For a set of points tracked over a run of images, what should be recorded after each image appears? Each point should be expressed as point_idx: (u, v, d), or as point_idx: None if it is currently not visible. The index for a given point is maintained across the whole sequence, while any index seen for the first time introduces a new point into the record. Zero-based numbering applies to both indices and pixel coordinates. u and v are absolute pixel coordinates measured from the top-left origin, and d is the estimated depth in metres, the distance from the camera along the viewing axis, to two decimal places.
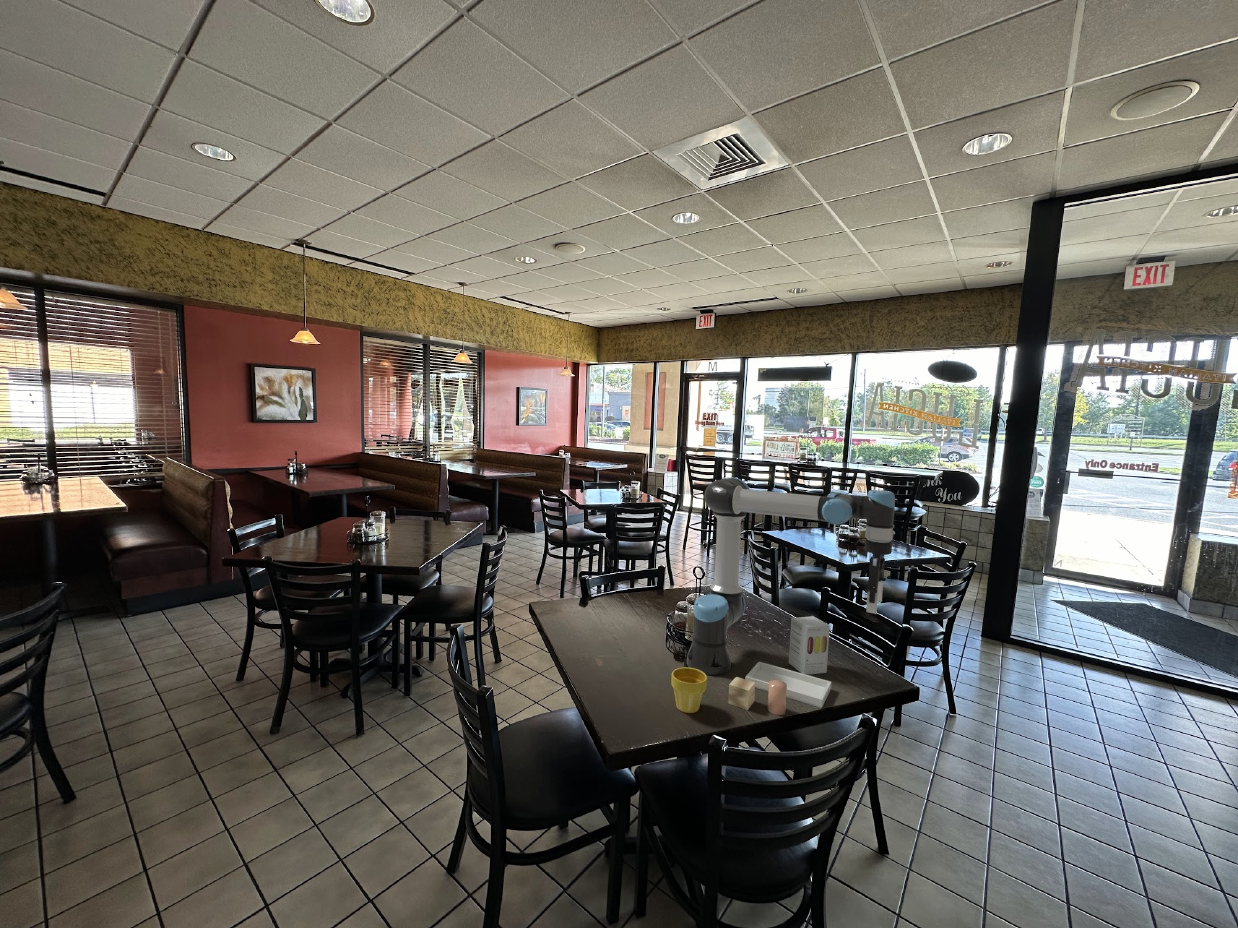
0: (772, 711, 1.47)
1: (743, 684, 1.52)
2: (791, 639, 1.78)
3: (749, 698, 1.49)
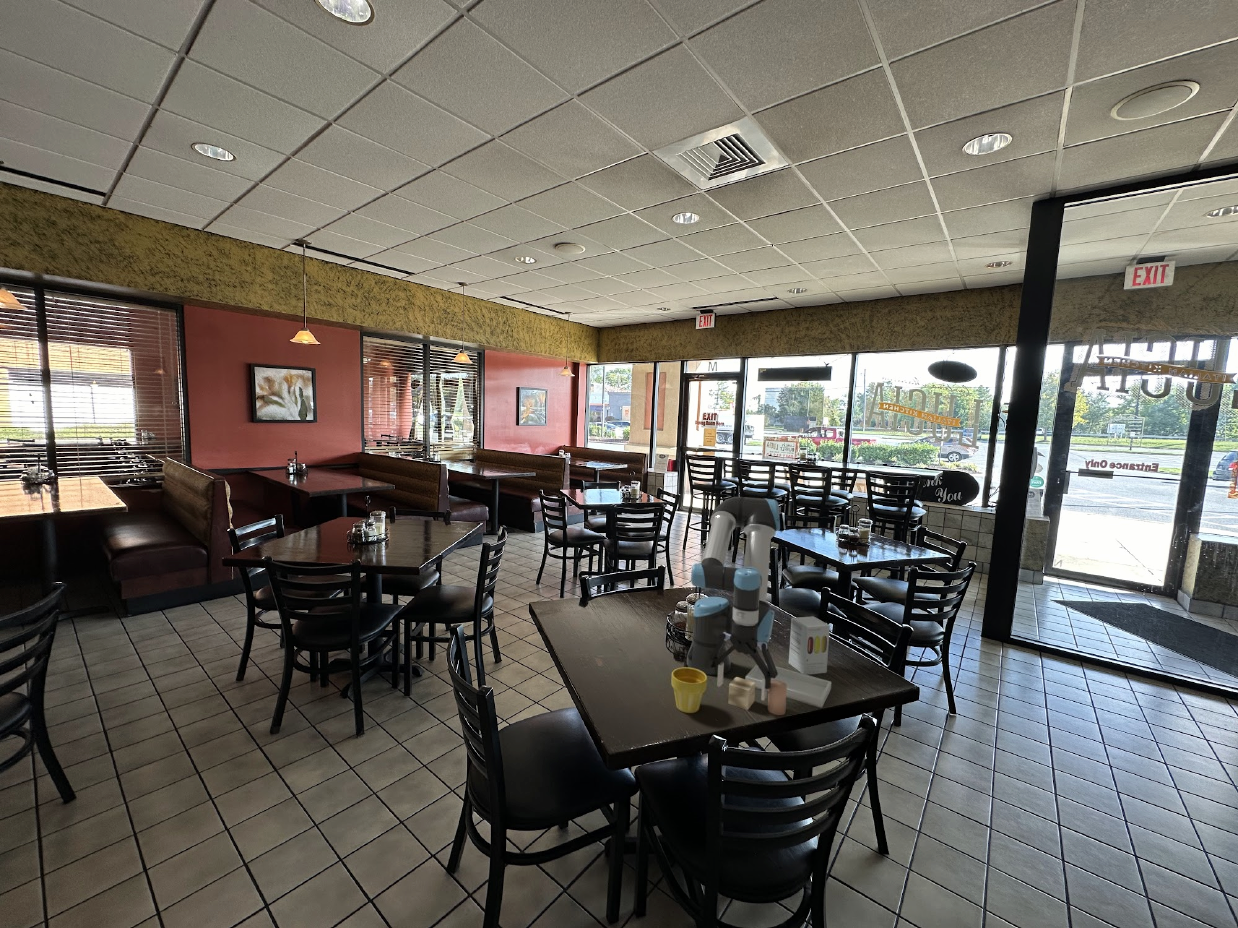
0: (772, 711, 1.47)
1: (743, 684, 1.52)
2: (791, 639, 1.78)
3: (749, 698, 1.49)
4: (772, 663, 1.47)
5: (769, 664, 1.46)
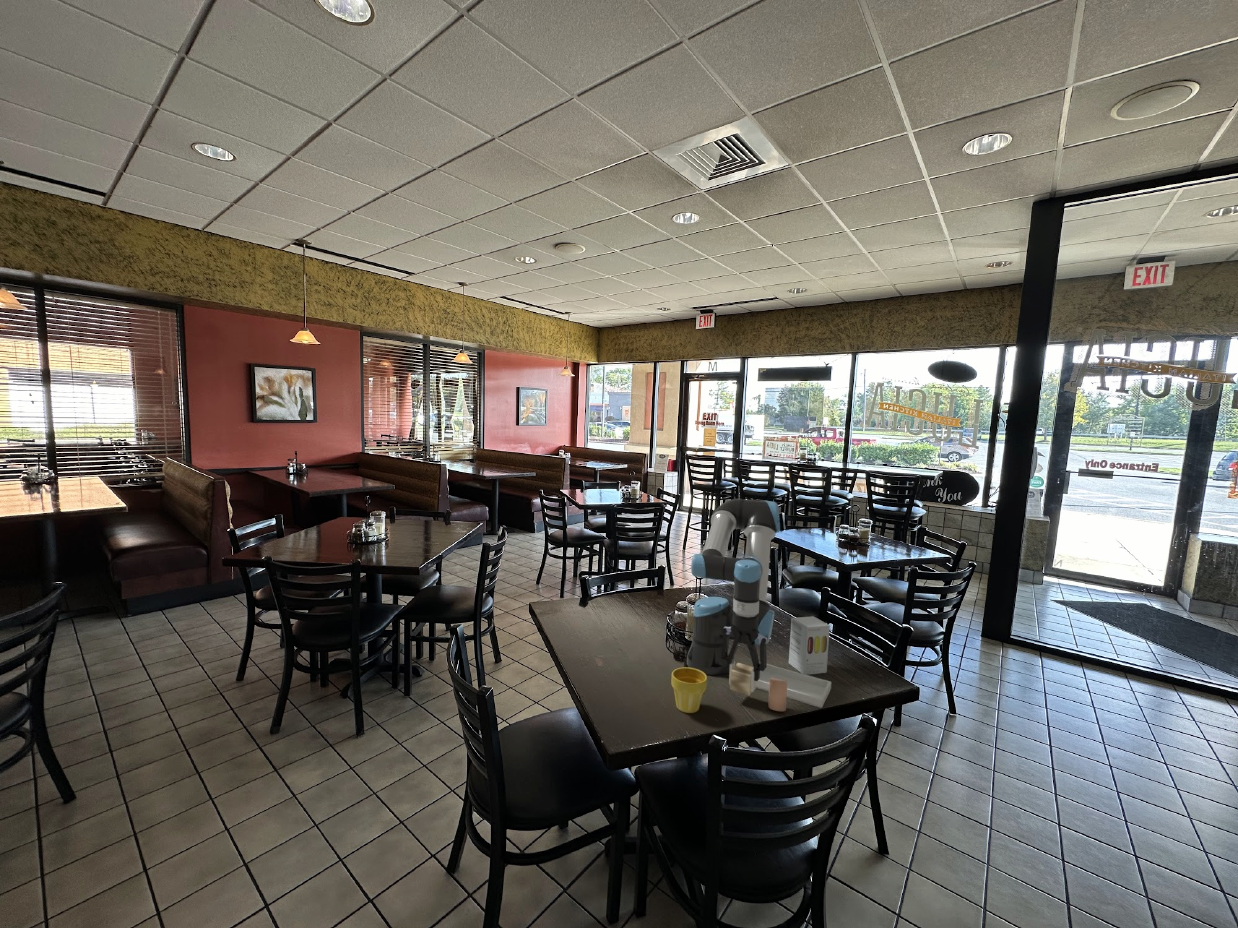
0: (773, 707, 1.47)
1: (745, 670, 1.53)
2: (791, 639, 1.78)
3: None
4: (765, 657, 1.49)
5: (762, 658, 1.48)
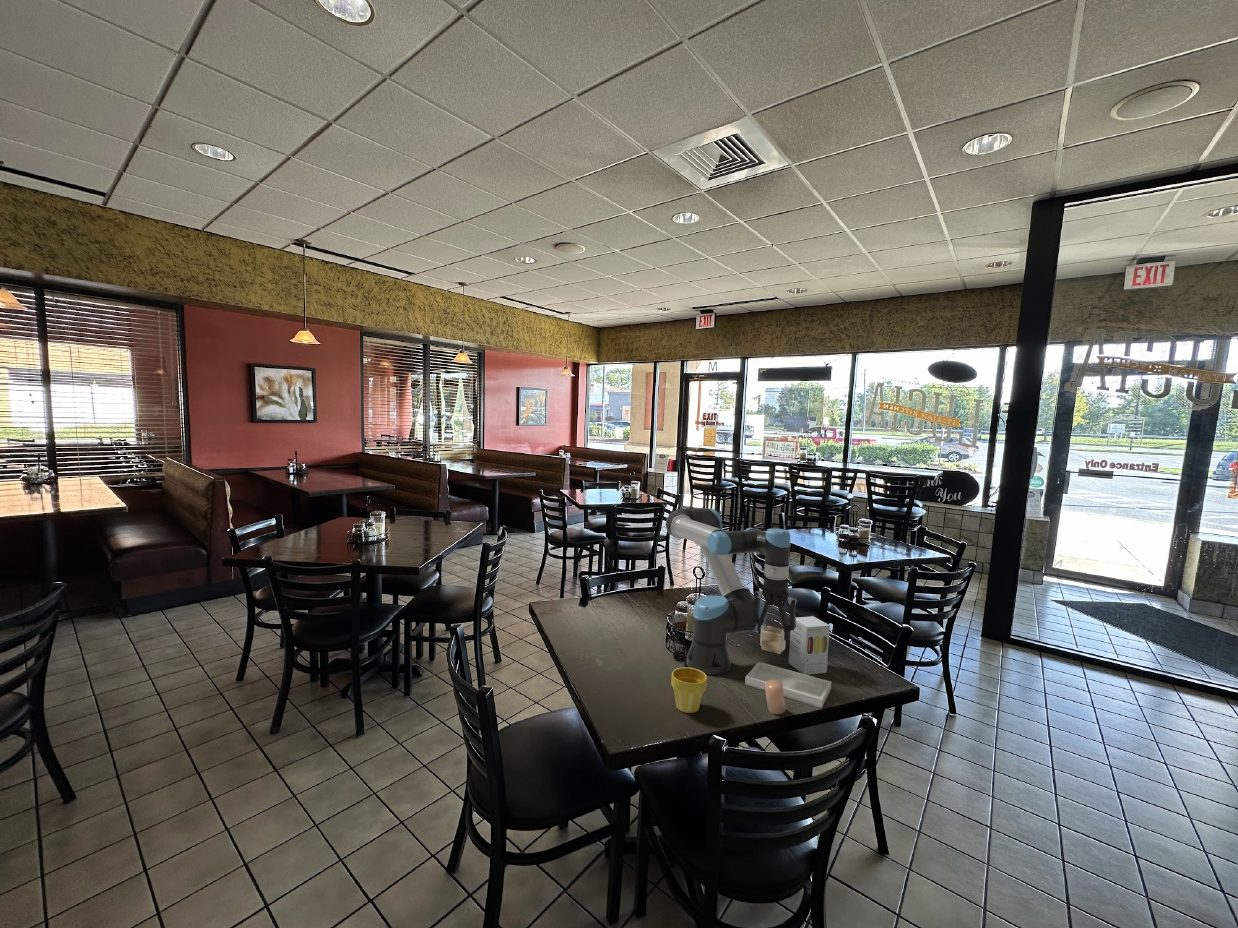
0: (778, 712, 1.46)
1: (775, 631, 1.65)
2: (791, 639, 1.78)
3: None
4: (794, 618, 1.61)
5: (792, 618, 1.60)
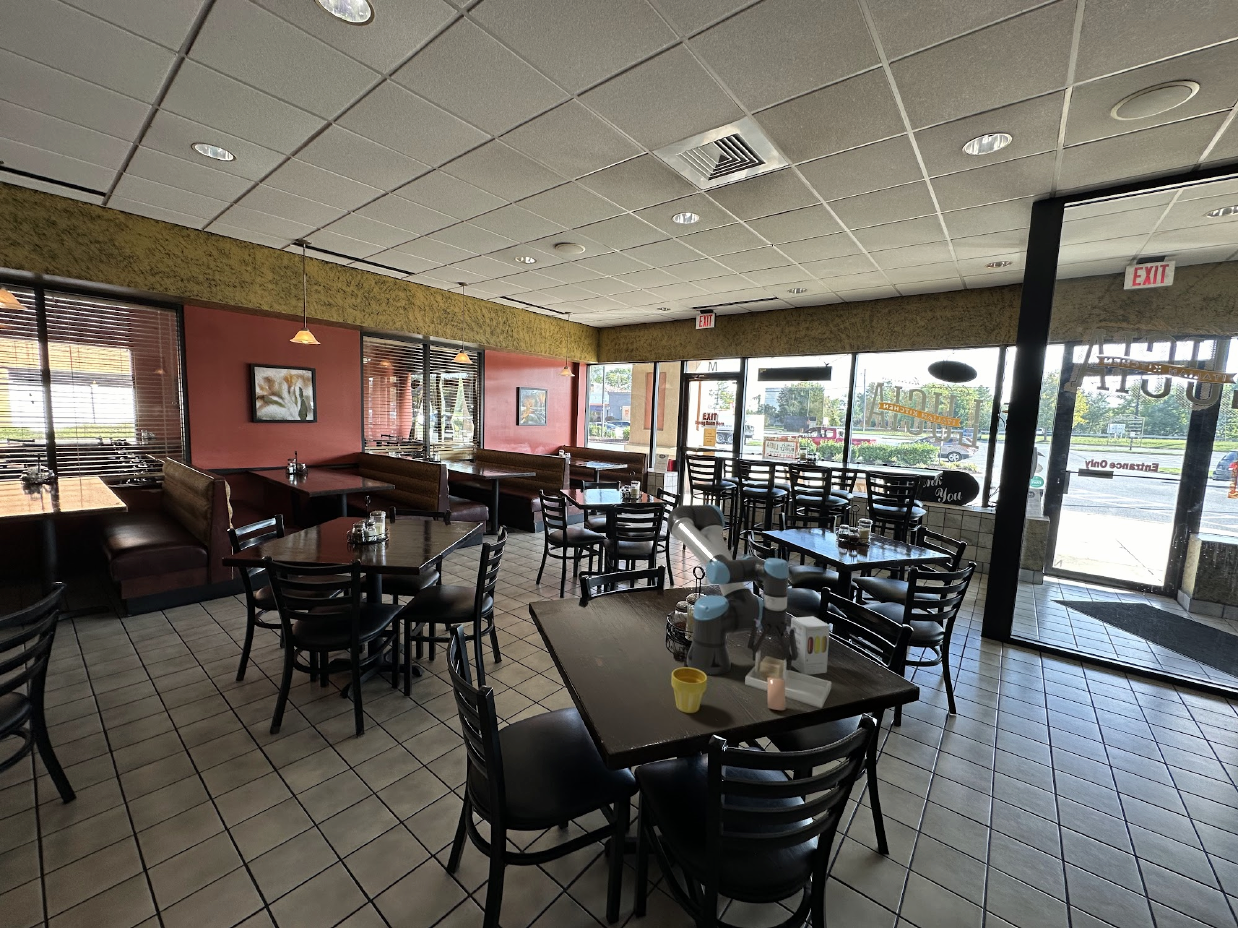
0: (783, 707, 1.47)
1: (773, 662, 1.65)
2: None
3: (779, 674, 1.63)
4: (795, 647, 1.61)
5: (793, 648, 1.60)
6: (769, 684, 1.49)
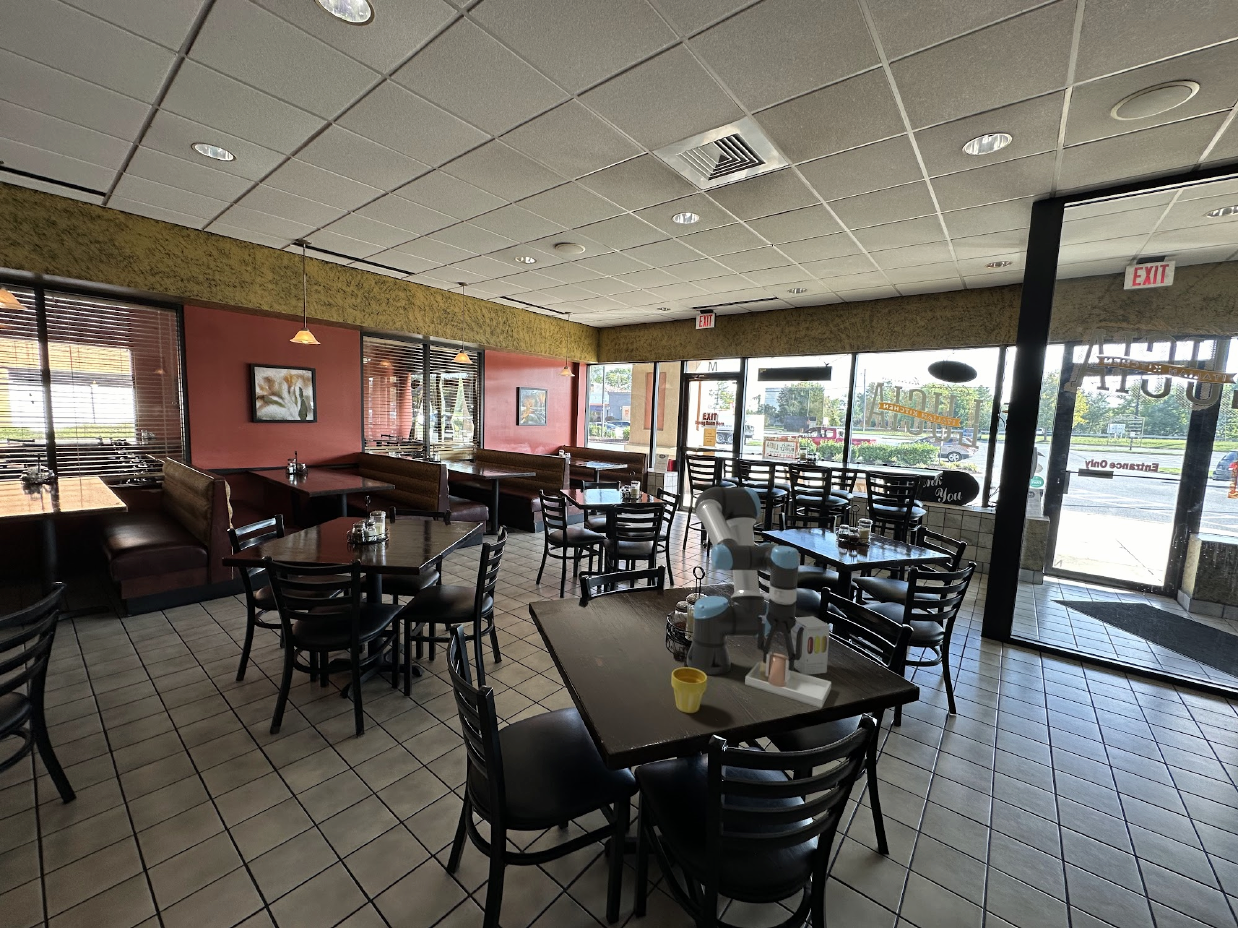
0: None
1: None
2: None
3: None
4: (801, 646, 1.45)
5: (798, 647, 1.44)
6: (784, 664, 1.47)
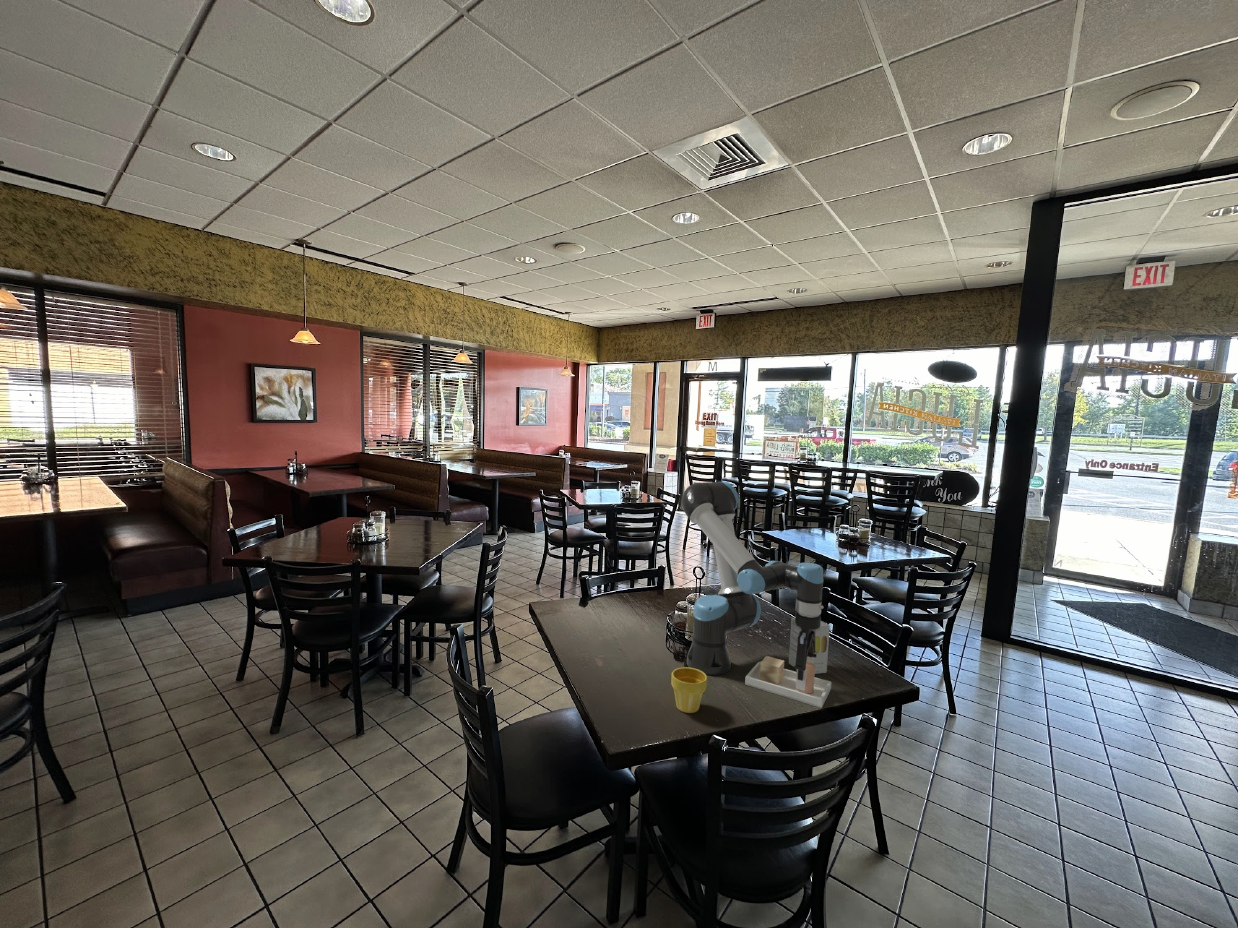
0: None
1: (773, 662, 1.65)
2: (791, 639, 1.78)
3: (779, 674, 1.63)
4: None
5: None
6: None
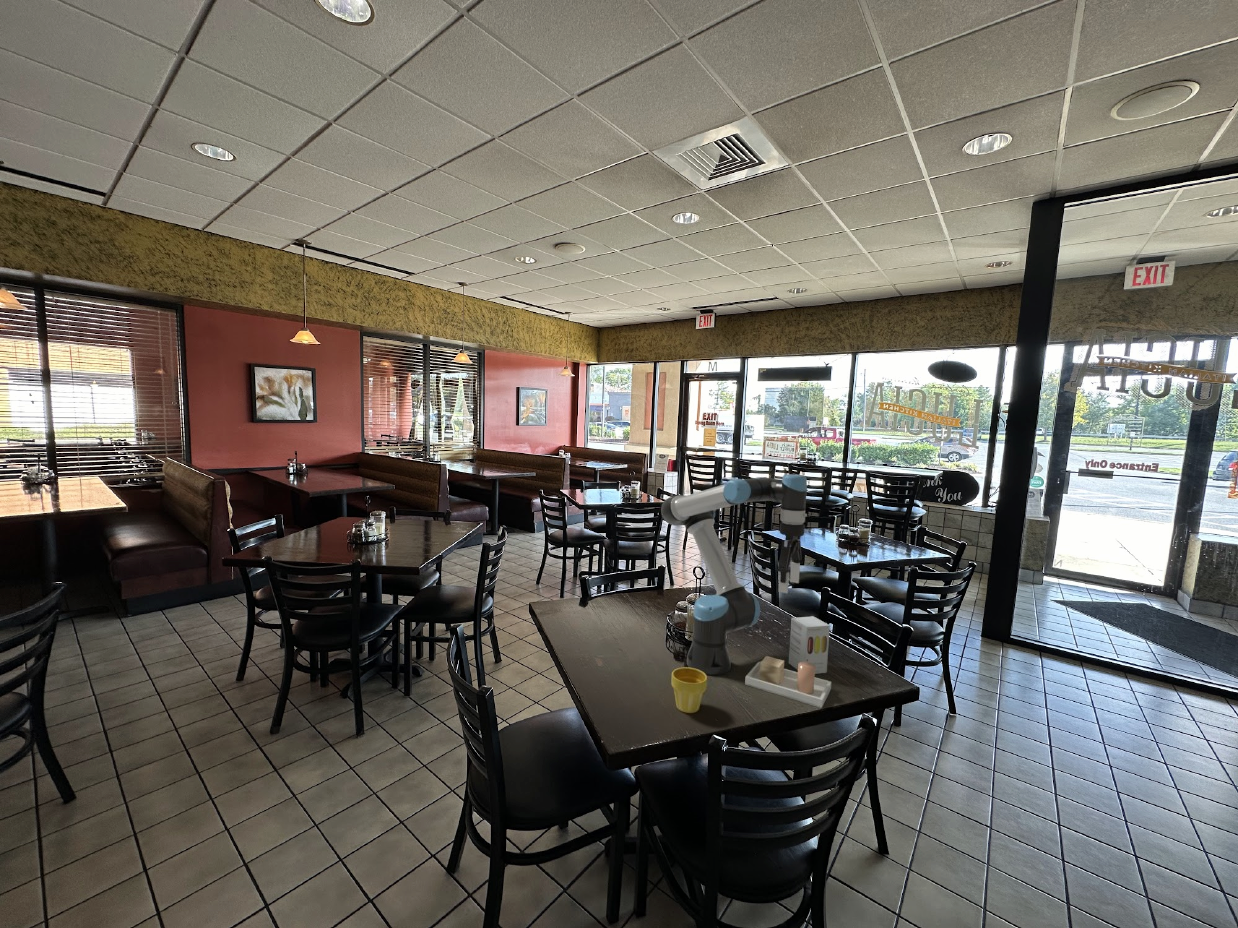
0: None
1: (773, 662, 1.65)
2: (791, 639, 1.78)
3: (779, 674, 1.63)
4: None
5: (800, 550, 1.70)
6: None
